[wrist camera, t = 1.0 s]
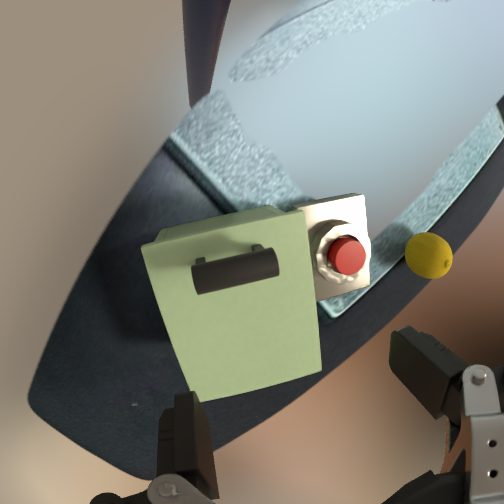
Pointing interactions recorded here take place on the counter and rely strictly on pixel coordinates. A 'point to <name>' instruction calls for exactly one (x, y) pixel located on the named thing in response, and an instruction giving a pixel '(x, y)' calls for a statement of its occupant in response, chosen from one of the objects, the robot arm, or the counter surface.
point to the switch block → (327, 232)
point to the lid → (238, 303)
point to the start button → (347, 255)
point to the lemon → (428, 255)
